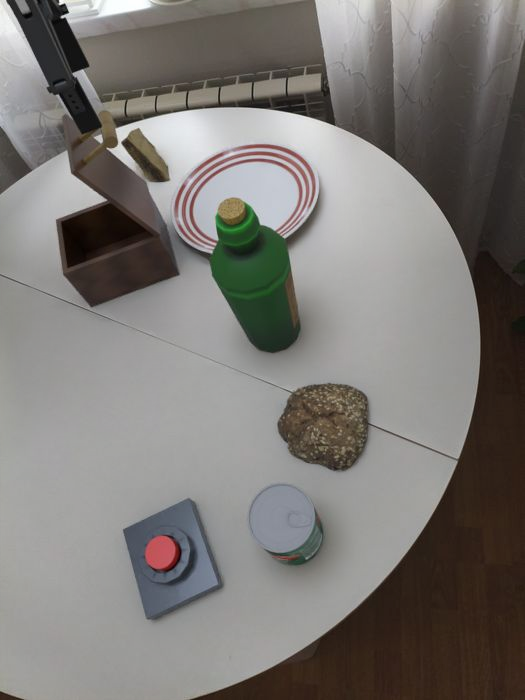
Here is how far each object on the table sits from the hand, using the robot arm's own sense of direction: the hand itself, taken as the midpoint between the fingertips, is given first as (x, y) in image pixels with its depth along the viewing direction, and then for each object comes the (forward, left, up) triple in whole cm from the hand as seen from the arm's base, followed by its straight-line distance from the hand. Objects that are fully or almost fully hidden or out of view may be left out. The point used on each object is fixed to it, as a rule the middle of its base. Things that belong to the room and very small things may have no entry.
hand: (85, 97), depth 73 cm
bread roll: (+43, +10, -32) cm, 55 cm away
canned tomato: (+55, 0, -33) cm, 64 cm away
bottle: (+25, +10, -33) cm, 42 cm away
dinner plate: (-2, +16, -32) cm, 37 cm away
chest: (-1, -8, -32) cm, 33 cm away
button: (+51, -16, -29) cm, 60 cm away
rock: (-23, +4, -33) cm, 40 cm away
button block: (+51, -16, -32) cm, 62 cm away
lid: (-1, -3, -14) cm, 14 cm away
